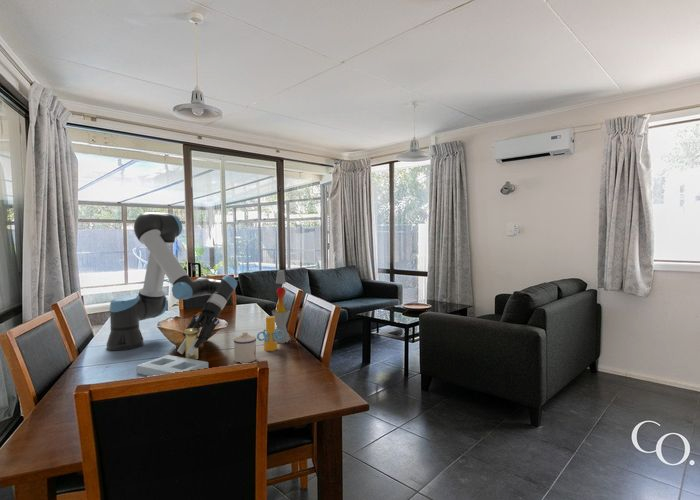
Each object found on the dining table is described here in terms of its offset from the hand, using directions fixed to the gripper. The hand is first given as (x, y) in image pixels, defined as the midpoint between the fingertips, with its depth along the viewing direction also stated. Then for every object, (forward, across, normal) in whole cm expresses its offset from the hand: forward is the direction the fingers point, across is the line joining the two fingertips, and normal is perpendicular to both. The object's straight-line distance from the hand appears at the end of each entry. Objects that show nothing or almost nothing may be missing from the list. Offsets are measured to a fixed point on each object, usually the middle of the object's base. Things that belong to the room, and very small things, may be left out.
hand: (184, 353), depth 155 cm
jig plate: (+9, -3, +3) cm, 10 cm away
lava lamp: (-28, -16, -35) cm, 48 cm away
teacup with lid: (-7, -18, -14) cm, 24 cm away
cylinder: (-19, -20, -25) cm, 37 cm away
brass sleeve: (0, 0, -5) cm, 5 cm away
